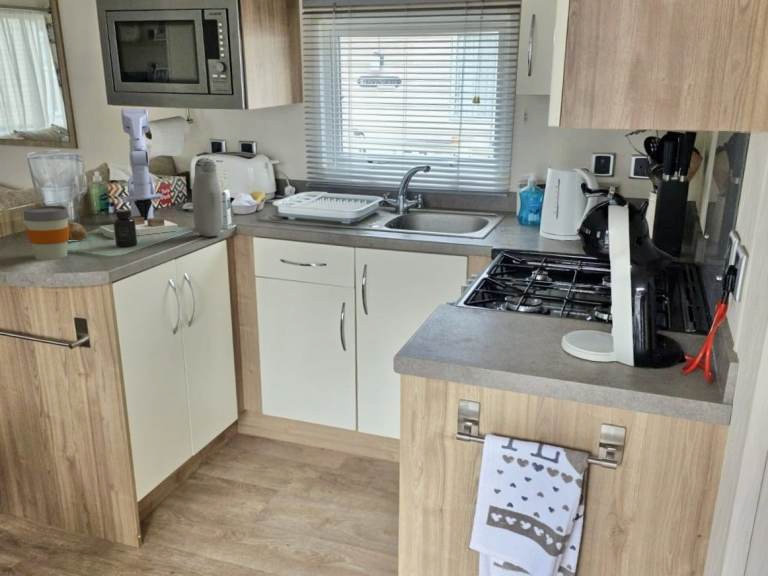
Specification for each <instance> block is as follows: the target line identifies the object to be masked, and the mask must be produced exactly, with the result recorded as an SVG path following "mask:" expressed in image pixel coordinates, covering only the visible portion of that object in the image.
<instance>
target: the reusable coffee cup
mask: <svg viewBox="0 0 768 576" xmlns="http://www.w3.org/2000/svg"><path fill="white" fill-rule="evenodd" d="M69 217H70V215H69V211H68V207H67V206H63V205H46V206H45V205H43V206H32V207H27V208H25V209H24V210H23V220H24V221H25V224H26V229H25V230H26V233H27V238H28V240H29V243H30V244H31V246H32V248H33V249H32V250H33V252H34V256H35V259H37V260H41V261H43V260H44V261H50V260H51V261H52V260H58V259H64V258H66V257H67V256H68V242H67V241H68V240H69V225H68V222H69Z"/></svg>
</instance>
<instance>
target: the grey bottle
mask: <svg viewBox="0 0 768 576" xmlns="http://www.w3.org/2000/svg"><path fill="white" fill-rule="evenodd" d="M193 177H194V178H193V183H192V187H191V201H192V209H193V210H192V211H193V214H192V215H193V225H194V227H195V230H196V232H197V233H198V234H200V235H201V236H203V237H207V238H210V237H211V238H212V237H215V236H218V235H219V234H220V233H221V231H222V230H223V229H222V227H223V200H222V190H221V189H222V187H221V183H220V179H219V174H218V167H217V164H216V162H215V160H214V159H212V158H210V157H203V158H198V159H197V160H196V161H195V164H194V176H193Z"/></svg>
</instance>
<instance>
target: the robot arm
mask: <svg viewBox="0 0 768 576" xmlns="http://www.w3.org/2000/svg"><path fill="white" fill-rule="evenodd" d="M120 113H121V124H122V129H123V132H124V133H125V134H128V135H129V136H128V137H130V138H129V142H128V143H129V151H130V152H129V165H130V168H131V173H132V175H131V177H129V178H128V180H127V189H128V195H126V196H121V200H122V202H121V203H126V204H127V203H130V202H131V203H130V210H131V217H132V216H141V217H144V221H147V219H148V218H155V217H154V209H153V208H154V207H153V201H154V200H163V194H162V193H156V189H155V182H154V179H153V177H151V176H150V174H149V166H150V157H149V151H148V149H147V143H146V138H145V137H144V136H145V134H146V133H148V132H149V128H150V127H149V124H150V123H149V121H150V120H149V111H148V109H147V108H121V110H120Z"/></svg>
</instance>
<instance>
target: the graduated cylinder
mask: <svg viewBox="0 0 768 576" xmlns="http://www.w3.org/2000/svg"><path fill="white" fill-rule="evenodd" d="M221 190H222V200H223V227H222V230H229V229H230V228H232V227H233V223H232V222H233V221H232V209H231V207H232V206H231V194H230V190H229V189H225V188H224V189H222V188H221Z"/></svg>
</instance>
